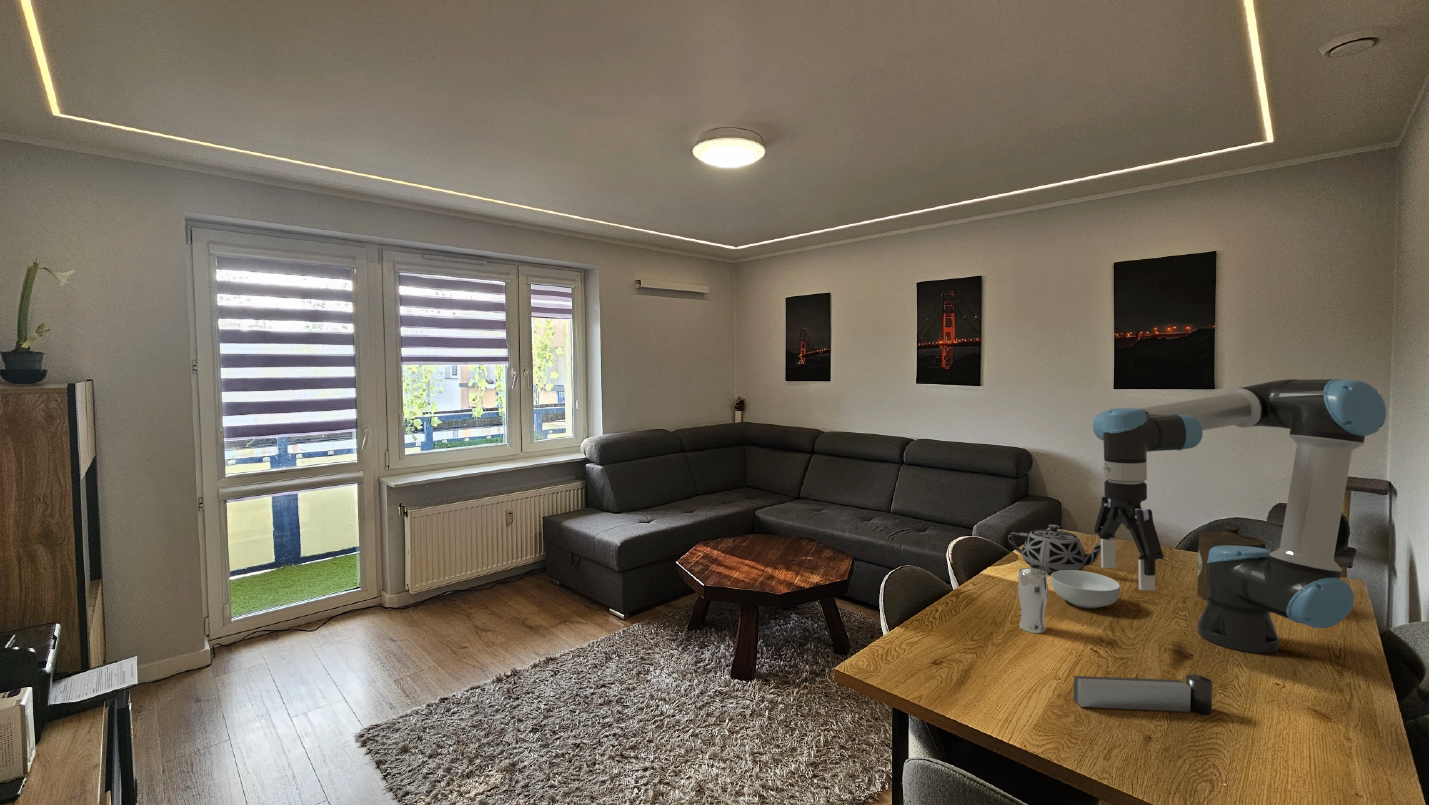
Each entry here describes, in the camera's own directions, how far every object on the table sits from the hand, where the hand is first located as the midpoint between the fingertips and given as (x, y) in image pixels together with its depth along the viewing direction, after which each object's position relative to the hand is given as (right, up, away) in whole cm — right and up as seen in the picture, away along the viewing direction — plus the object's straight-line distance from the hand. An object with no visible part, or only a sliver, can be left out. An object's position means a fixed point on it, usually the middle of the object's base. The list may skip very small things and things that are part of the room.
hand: (1126, 578), depth 129 cm
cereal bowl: (+18, -20, +43) cm, 51 cm away
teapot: (+26, -19, +72) cm, 79 cm away
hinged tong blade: (-6, -22, -11) cm, 26 cm away
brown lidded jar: (+60, -19, +44) cm, 77 cm away
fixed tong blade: (-4, -23, -10) cm, 25 cm away
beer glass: (-6, -21, +27) cm, 35 cm away
